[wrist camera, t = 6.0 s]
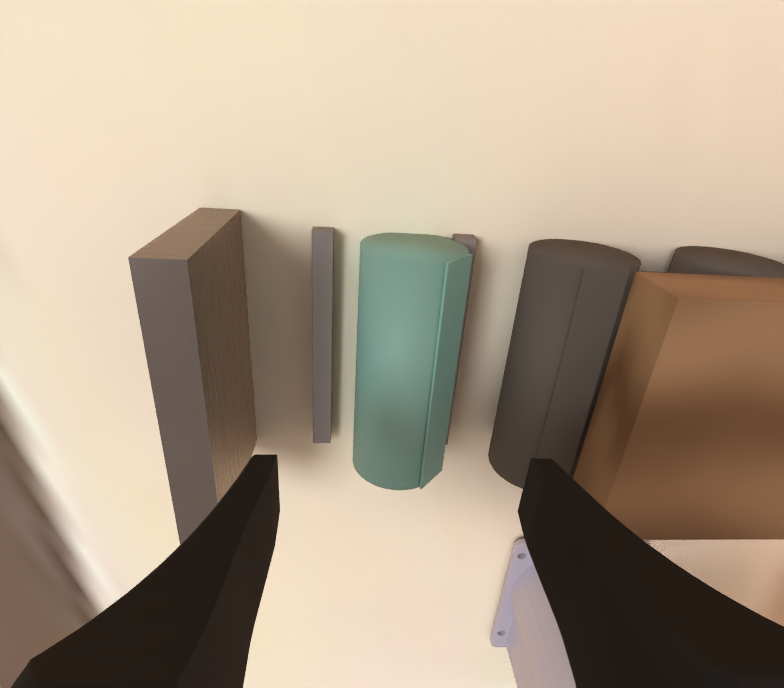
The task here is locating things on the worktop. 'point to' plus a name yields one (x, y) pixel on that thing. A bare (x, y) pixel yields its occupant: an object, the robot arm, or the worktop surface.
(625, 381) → the slab
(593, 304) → the roller bed
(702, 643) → the robot arm
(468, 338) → the worktop surface
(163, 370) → the bar
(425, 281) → the roller
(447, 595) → the worktop surface
